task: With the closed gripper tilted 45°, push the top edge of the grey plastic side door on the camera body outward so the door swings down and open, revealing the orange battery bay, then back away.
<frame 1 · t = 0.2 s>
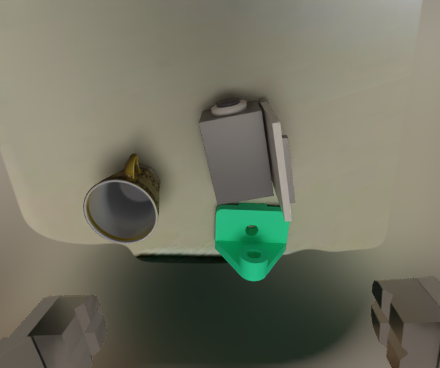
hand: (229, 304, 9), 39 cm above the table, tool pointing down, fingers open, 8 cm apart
side door: (276, 155, 40), point 7 cm above the table, hinge at 0.0°
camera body: (236, 145, 47), on the table
ceramic cup: (141, 174, 50), on the table
camera mount: (250, 221, 53), on the table
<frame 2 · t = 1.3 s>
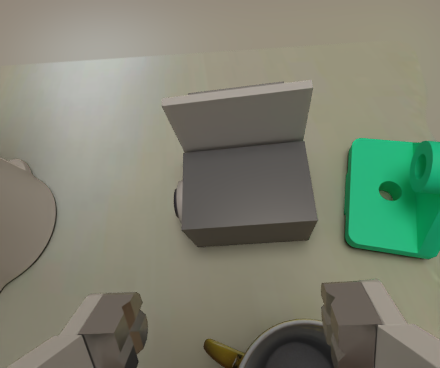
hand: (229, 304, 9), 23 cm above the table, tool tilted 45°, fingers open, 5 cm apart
side door: (241, 135, 30), point 7 cm above the table, hinge at 0.0°
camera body: (249, 208, 35), on the table
camera mount: (381, 200, 34), on the table
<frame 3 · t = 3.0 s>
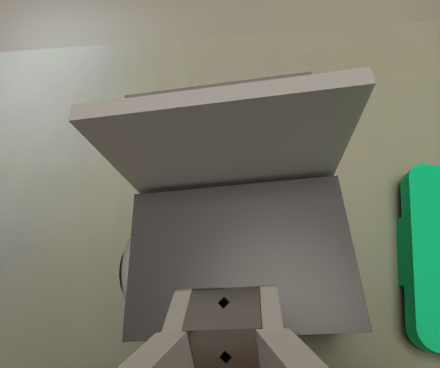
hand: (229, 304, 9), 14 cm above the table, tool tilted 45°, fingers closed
side door: (230, 166, 18), point 7 cm above the table, hinge at 0.0°
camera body: (244, 272, 23), on the table
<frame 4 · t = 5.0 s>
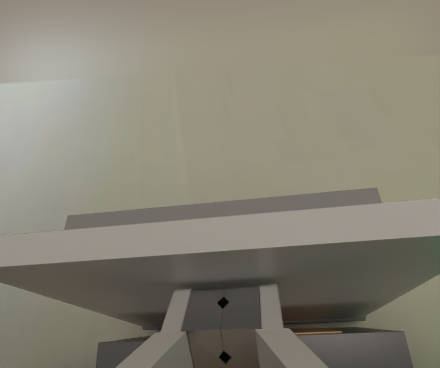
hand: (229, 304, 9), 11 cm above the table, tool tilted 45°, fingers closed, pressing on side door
side door: (238, 287, 13), point 7 cm above the table, hinge at 7.0°, touching gripper
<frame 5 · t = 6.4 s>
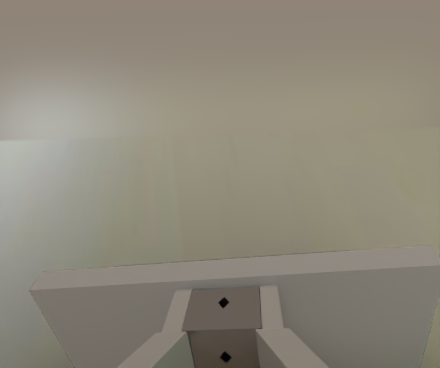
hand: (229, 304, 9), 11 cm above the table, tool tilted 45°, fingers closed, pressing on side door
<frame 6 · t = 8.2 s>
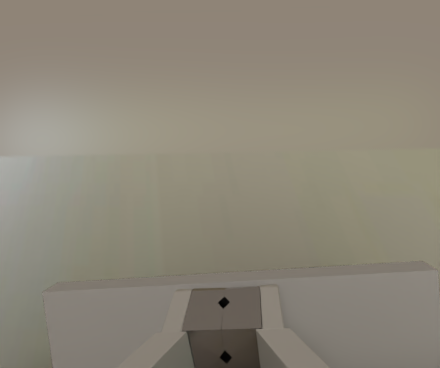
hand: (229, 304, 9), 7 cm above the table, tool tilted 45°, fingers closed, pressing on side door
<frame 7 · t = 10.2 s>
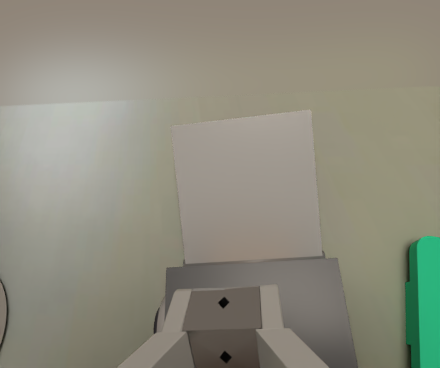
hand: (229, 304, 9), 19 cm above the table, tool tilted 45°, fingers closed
side door: (246, 194, 27), point 4 cm above the table, hinge at 62.0°
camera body: (257, 324, 26), on the table
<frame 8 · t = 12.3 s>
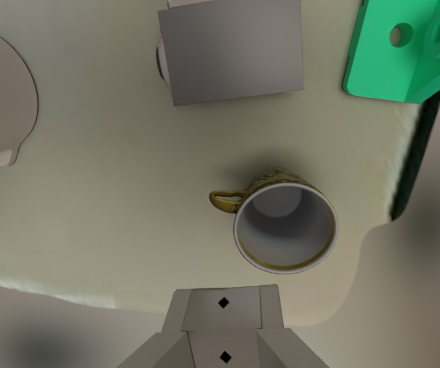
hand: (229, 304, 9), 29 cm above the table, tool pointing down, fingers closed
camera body: (235, 54, 33), on the table
ceramic cup: (264, 187, 39), on the table
camera mount: (388, 38, 32), on the table
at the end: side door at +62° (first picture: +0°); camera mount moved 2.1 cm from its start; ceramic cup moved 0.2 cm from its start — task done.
